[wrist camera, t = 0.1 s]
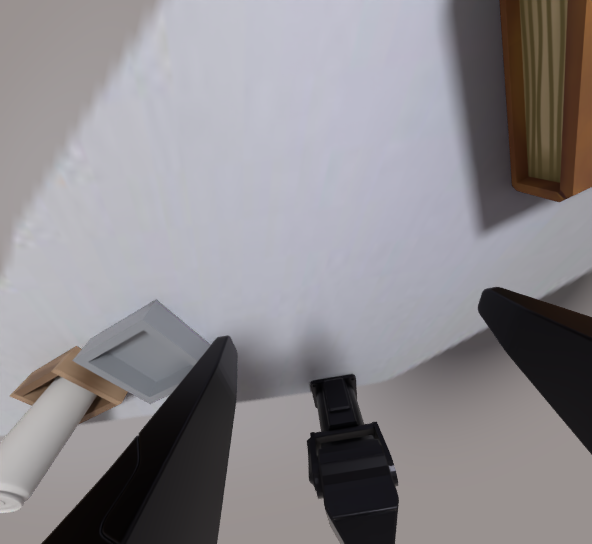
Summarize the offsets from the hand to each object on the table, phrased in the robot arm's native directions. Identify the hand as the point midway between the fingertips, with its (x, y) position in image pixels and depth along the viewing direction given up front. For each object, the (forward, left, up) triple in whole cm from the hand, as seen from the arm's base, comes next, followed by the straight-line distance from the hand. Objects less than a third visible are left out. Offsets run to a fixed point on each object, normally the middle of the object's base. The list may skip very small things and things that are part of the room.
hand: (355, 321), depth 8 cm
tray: (-13, +20, -15) cm, 28 cm away
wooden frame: (-16, +31, -15) cm, 38 cm away
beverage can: (-16, +31, -15) cm, 38 cm away
